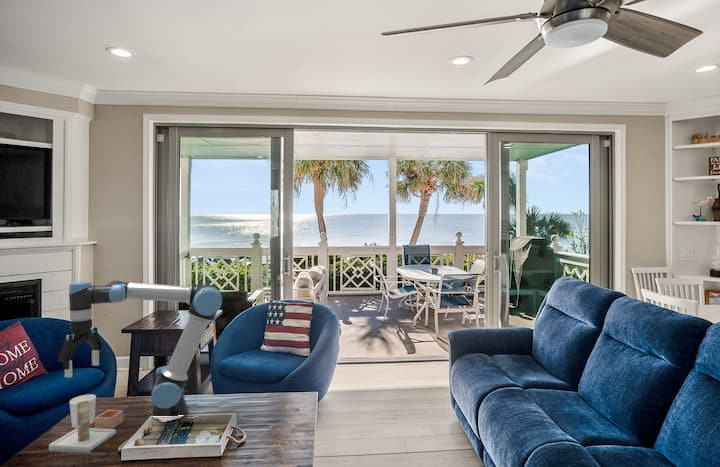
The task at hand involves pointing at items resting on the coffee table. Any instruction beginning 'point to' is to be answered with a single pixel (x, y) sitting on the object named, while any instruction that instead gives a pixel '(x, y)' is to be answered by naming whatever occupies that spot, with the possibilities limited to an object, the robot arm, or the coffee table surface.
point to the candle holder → (73, 408)
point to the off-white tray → (73, 445)
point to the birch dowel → (83, 421)
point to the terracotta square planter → (109, 419)
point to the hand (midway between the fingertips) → (82, 370)
